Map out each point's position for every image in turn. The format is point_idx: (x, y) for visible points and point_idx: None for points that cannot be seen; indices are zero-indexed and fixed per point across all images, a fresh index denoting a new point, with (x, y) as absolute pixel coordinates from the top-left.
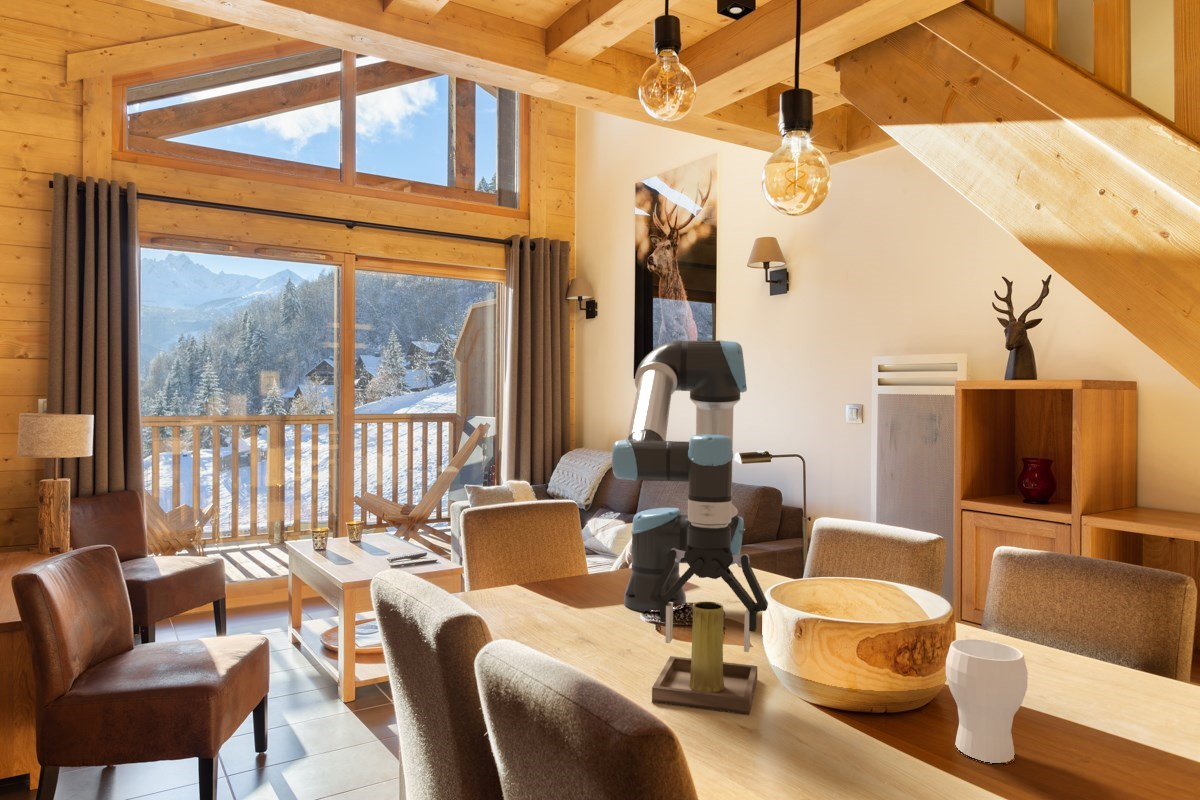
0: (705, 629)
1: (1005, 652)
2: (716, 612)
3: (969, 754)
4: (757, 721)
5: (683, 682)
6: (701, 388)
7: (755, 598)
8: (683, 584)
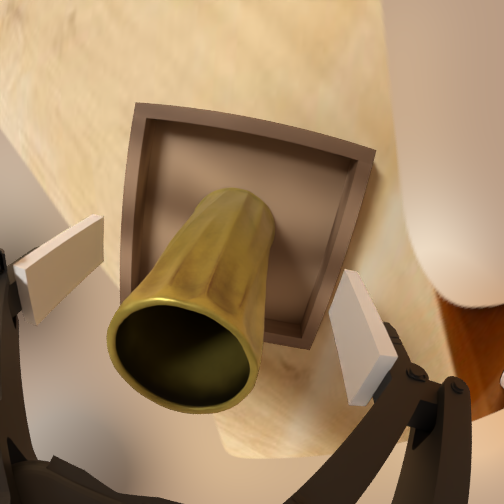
0: (193, 353)
1: None
2: (223, 401)
3: (501, 384)
4: (316, 349)
5: (179, 206)
6: None
7: (404, 458)
8: (24, 415)
